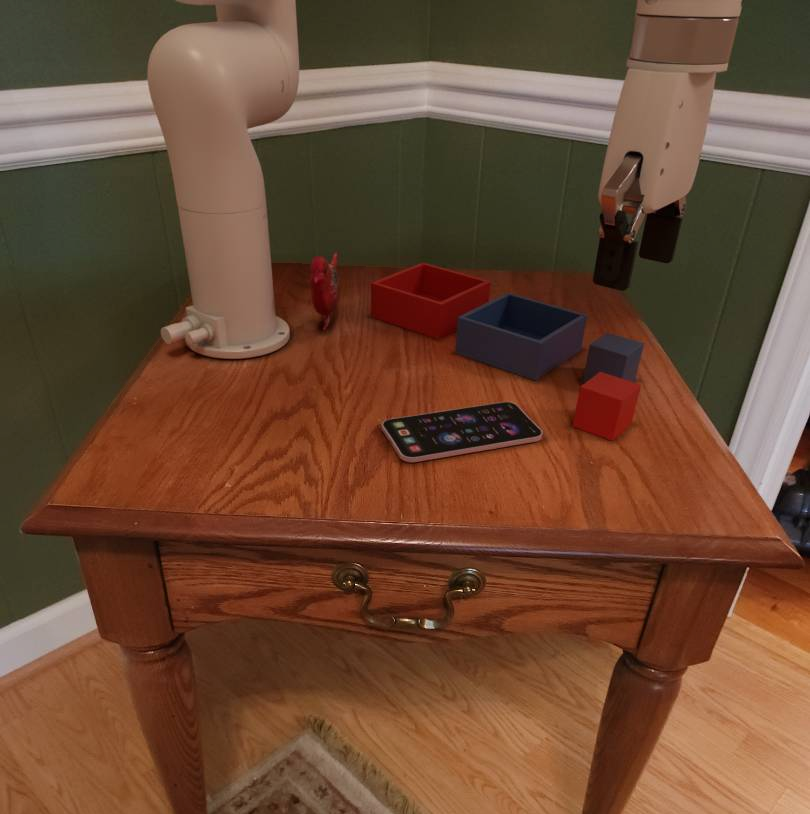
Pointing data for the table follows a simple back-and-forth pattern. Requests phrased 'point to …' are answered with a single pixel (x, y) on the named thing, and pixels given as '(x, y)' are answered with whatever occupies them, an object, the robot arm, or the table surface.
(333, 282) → the decorative bird figurine
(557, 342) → the blue bin
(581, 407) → the red block
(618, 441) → the table surface
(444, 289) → the red bin
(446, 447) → the smartphone
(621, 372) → the blue block
